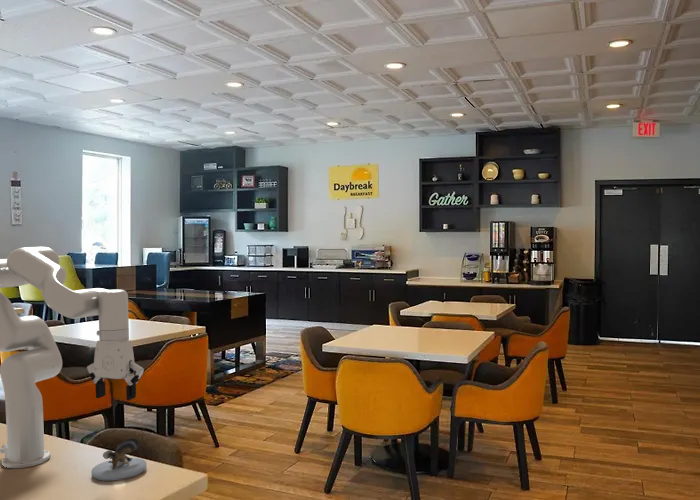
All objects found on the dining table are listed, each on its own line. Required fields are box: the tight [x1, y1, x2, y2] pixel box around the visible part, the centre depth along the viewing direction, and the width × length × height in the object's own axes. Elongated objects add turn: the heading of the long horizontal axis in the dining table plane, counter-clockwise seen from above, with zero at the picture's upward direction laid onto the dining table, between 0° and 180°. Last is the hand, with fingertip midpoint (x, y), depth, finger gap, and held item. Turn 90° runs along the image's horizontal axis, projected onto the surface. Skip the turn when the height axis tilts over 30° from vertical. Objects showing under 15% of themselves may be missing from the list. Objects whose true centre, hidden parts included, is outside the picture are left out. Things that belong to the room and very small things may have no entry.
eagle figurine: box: [102, 437, 140, 469], centre depth 171 cm, size 8×7×9 cm
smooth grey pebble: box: [90, 457, 147, 481], centre depth 169 cm, size 14×14×2 cm
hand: (115, 397), depth 169 cm, fingers open, 9 cm apart
